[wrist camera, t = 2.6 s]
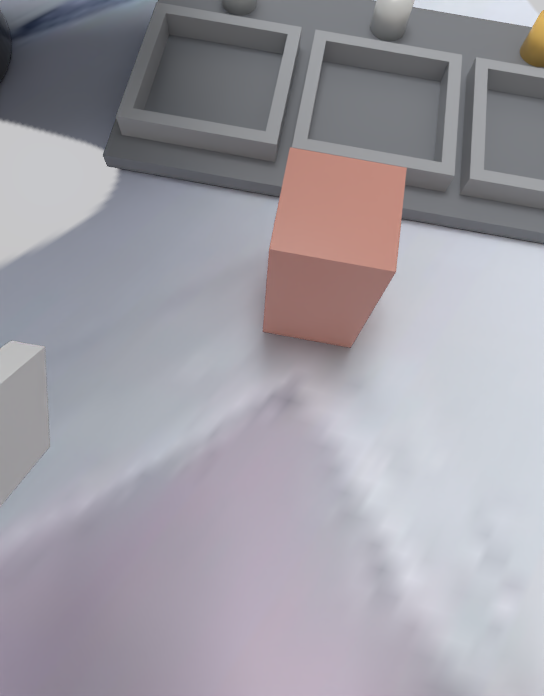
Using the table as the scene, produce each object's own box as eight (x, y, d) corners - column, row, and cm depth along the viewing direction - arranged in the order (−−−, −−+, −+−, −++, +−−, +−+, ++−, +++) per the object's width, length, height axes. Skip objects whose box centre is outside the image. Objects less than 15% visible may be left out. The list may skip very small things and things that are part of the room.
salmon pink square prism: (262, 331, 28) (269, 249, 19) (277, 254, 29) (289, 147, 21) (350, 347, 28) (395, 271, 19) (360, 269, 29) (406, 167, 21)
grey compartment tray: (107, 166, 31) (90, 125, 28) (172, -20, 36) (165, -73, 33) (617, 256, 30) (660, 225, 27) (604, 53, 36) (639, 8, 33)
